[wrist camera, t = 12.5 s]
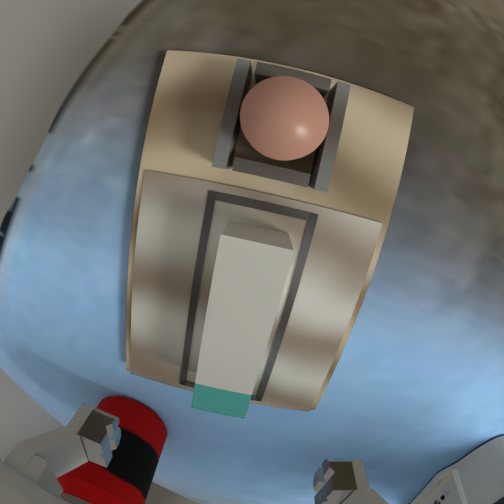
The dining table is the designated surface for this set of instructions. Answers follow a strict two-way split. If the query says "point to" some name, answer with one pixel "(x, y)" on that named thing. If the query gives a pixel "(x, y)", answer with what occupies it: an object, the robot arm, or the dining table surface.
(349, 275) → the board
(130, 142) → the dining table surface
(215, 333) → the marker
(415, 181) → the dining table surface
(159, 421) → the soda can
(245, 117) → the button
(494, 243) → the dining table surface
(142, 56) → the dining table surface
